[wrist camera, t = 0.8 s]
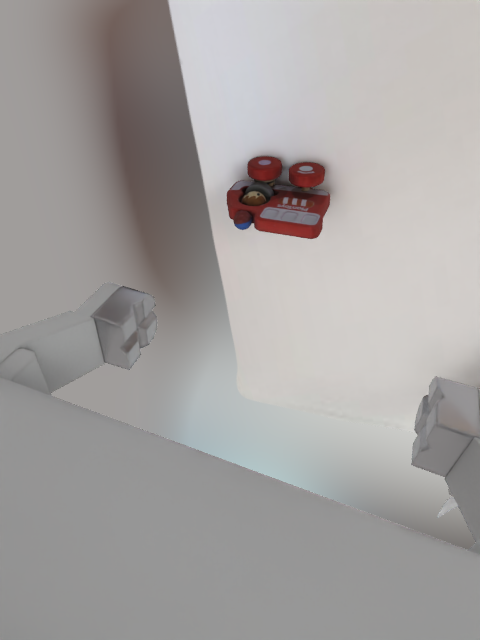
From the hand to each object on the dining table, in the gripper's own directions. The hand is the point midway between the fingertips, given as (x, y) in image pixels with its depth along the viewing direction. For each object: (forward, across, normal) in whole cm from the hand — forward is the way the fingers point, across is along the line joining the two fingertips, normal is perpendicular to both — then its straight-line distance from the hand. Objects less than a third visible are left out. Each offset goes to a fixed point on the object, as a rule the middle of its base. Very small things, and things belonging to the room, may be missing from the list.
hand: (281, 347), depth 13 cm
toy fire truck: (+42, +10, +15) cm, 46 cm away
